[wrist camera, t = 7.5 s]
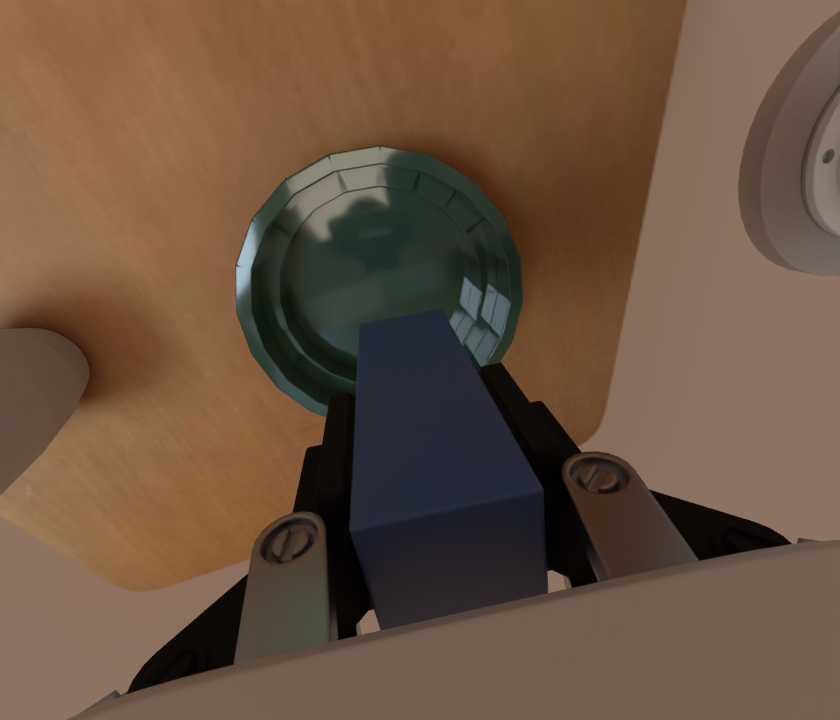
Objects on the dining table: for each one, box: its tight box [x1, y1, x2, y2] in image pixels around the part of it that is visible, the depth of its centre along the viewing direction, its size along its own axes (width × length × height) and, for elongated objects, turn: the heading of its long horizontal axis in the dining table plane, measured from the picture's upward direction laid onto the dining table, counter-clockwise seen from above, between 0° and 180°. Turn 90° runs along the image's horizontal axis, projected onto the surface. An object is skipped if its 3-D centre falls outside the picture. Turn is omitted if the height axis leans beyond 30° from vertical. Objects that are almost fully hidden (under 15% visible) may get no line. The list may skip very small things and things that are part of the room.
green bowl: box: [235, 146, 523, 417], centre depth 25 cm, size 16×16×5 cm
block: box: [349, 309, 548, 630], centre depth 12 cm, size 3×3×10 cm
